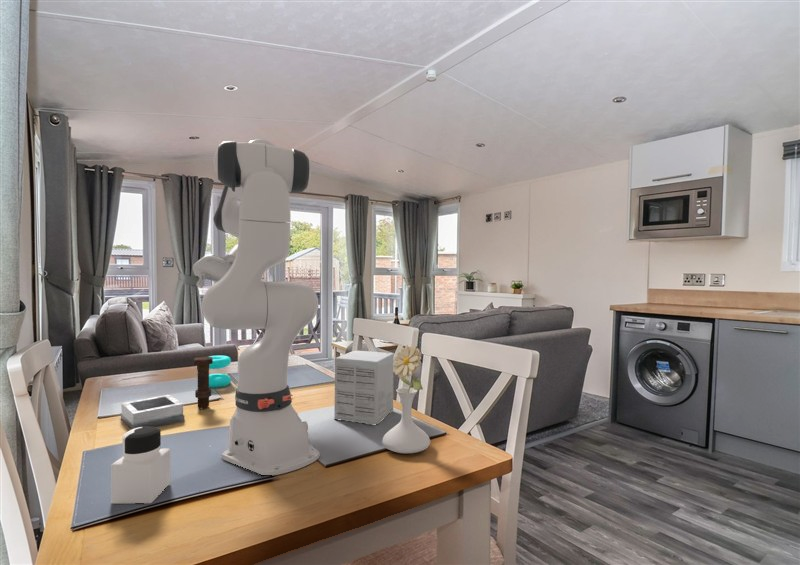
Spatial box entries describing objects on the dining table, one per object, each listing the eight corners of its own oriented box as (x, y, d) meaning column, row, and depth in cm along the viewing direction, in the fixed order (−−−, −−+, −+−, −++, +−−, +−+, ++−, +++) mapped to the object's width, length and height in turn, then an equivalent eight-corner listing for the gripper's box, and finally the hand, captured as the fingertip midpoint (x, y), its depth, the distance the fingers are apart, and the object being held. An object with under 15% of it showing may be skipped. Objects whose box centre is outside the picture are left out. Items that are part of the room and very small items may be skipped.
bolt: (216, 405, 132) (216, 356, 131) (208, 411, 127) (207, 360, 126) (198, 404, 132) (198, 356, 132) (189, 410, 127) (189, 359, 127)
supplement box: (353, 406, 133) (354, 349, 132) (393, 411, 129) (394, 352, 128) (333, 420, 120) (333, 357, 120) (376, 426, 116) (377, 361, 115)
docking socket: (184, 421, 118) (184, 404, 118) (134, 432, 110) (134, 414, 110) (167, 408, 128) (167, 393, 128) (120, 418, 120) (120, 402, 119)
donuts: (235, 357, 154) (206, 361, 148) (235, 385, 155) (206, 390, 148) (225, 353, 162) (196, 357, 155) (225, 380, 162) (196, 384, 155)
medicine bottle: (171, 484, 84) (171, 423, 83) (151, 504, 77) (151, 437, 76) (133, 484, 83) (133, 423, 83) (110, 504, 76) (109, 437, 76)
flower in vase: (375, 442, 105) (376, 340, 104) (418, 436, 109) (420, 338, 108) (394, 465, 93) (395, 349, 92) (441, 457, 97) (443, 346, 96)
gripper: (206, 245, 137) (179, 272, 126) (267, 265, 136) (244, 293, 125) (208, 260, 141) (182, 287, 130) (267, 279, 140) (245, 308, 130)
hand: (213, 290), depth 128 cm, fingers open, 8 cm apart
